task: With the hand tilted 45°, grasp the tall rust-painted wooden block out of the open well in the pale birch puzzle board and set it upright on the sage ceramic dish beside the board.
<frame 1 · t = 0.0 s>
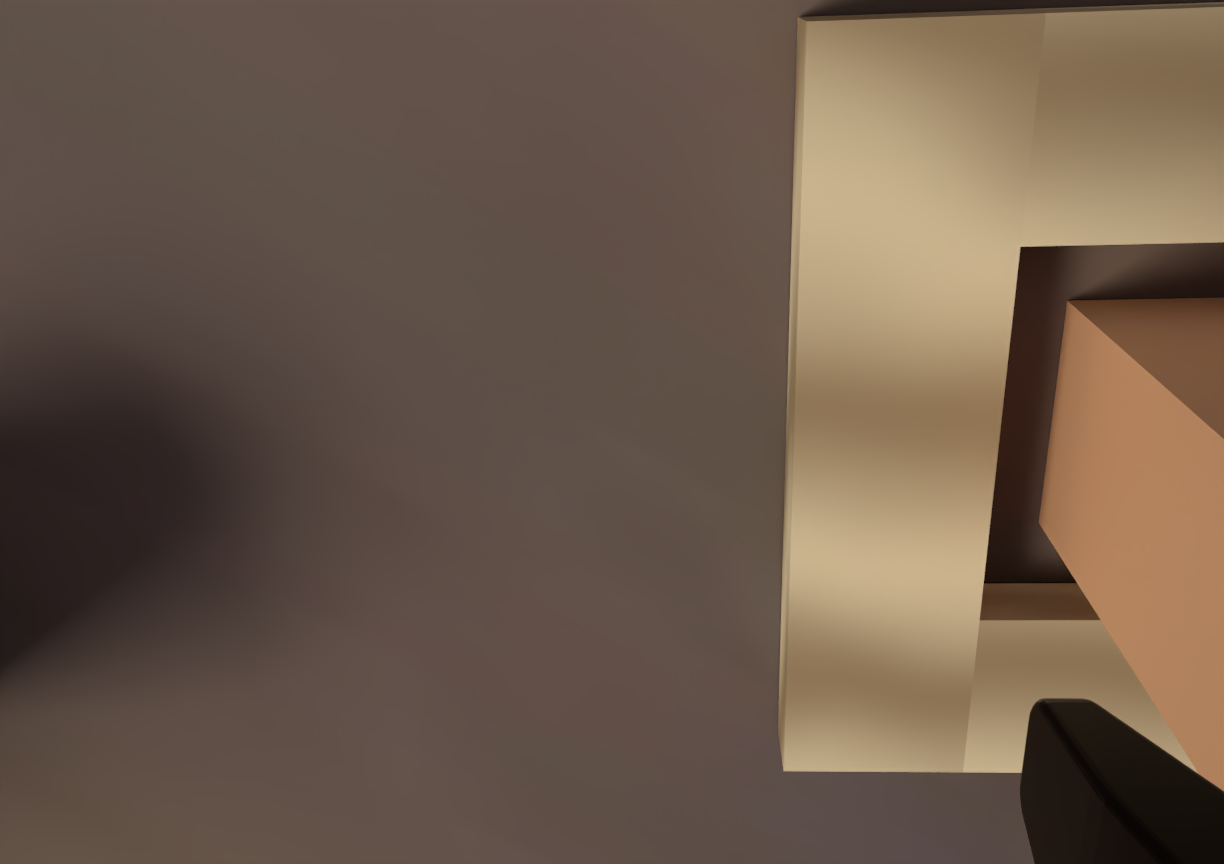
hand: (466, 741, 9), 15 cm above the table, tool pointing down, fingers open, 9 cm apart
puzzle board: (1176, 415, 23), on the table
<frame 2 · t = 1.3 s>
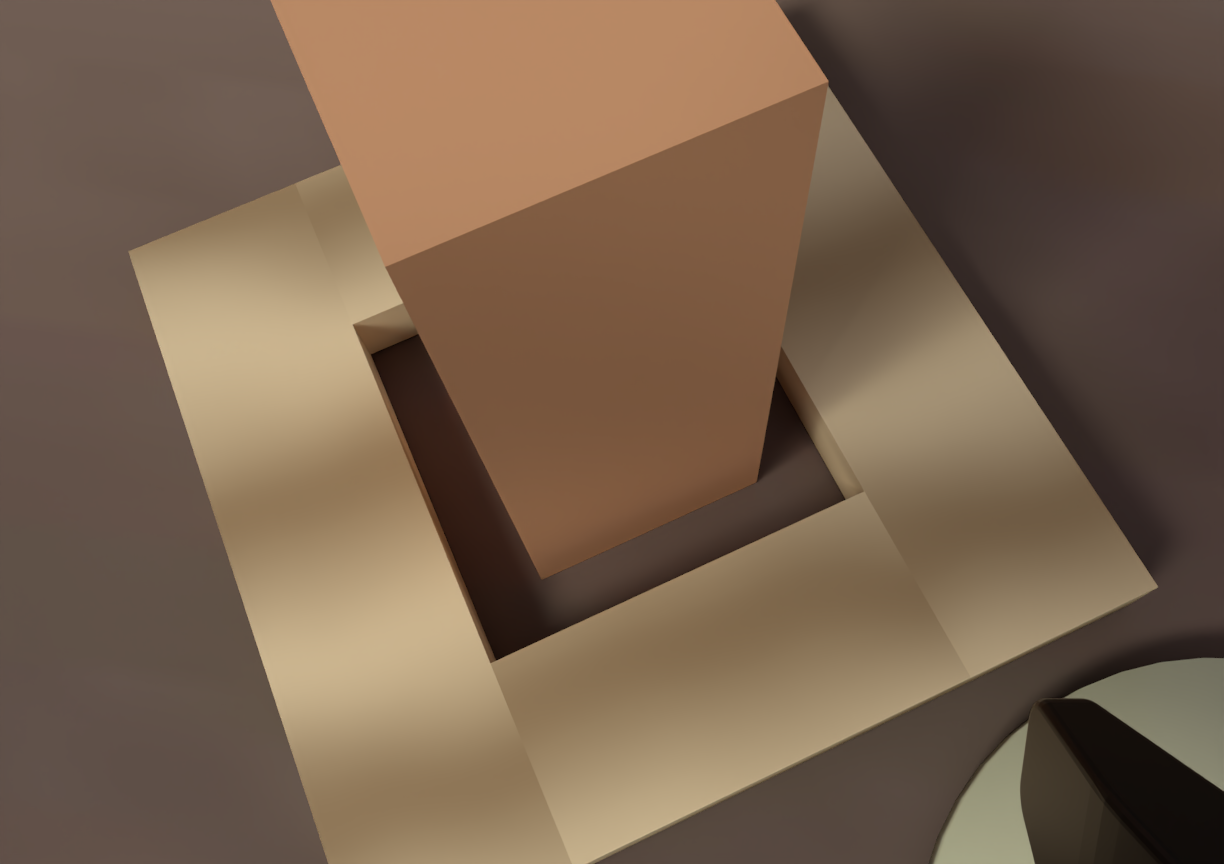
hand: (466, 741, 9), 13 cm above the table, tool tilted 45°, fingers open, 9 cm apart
puzzle board: (601, 430, 24), on the table
block: (574, 286, 18), in the puzzle board
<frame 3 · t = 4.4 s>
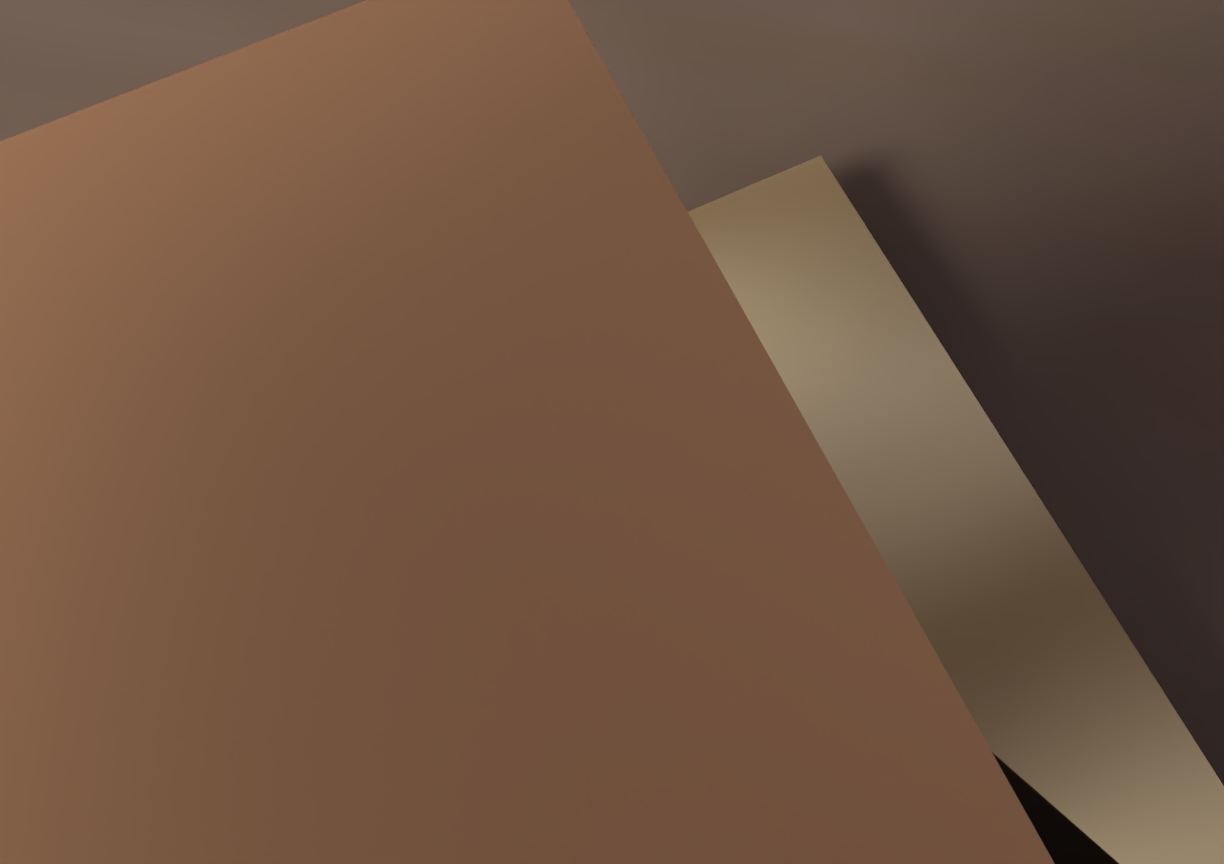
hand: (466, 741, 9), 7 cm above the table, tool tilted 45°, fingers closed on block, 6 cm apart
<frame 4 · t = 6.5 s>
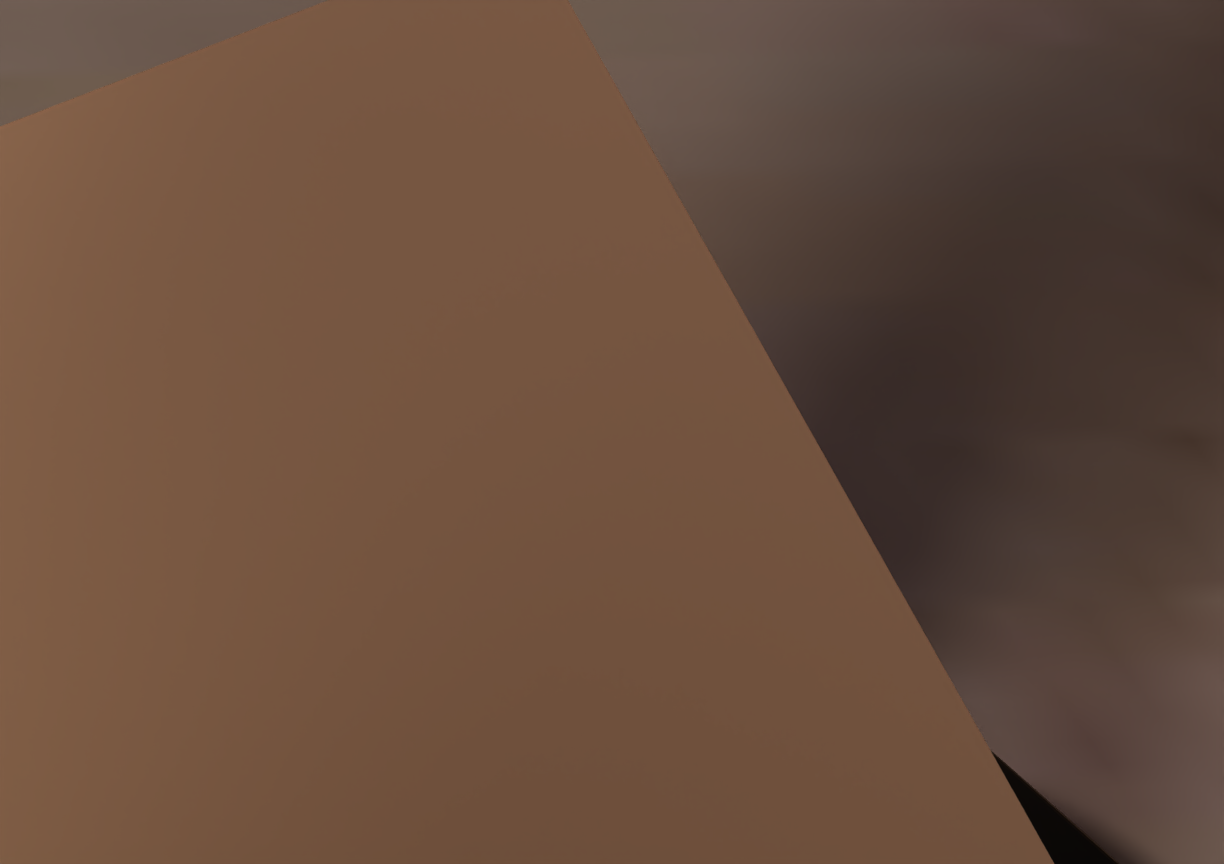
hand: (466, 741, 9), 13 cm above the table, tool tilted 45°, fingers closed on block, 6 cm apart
when the fingers open (8 cm above the table, at t = 8.6 s): block stays where it is, resting on dish.
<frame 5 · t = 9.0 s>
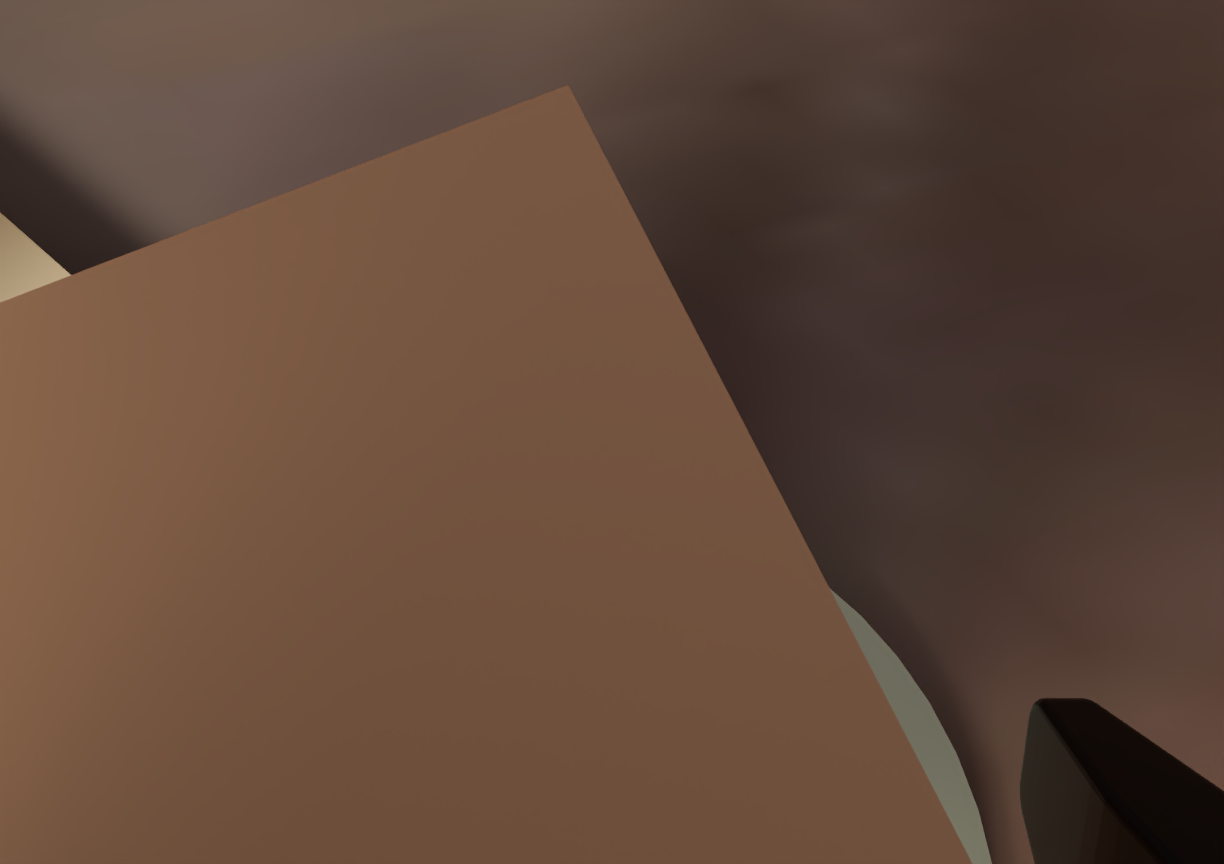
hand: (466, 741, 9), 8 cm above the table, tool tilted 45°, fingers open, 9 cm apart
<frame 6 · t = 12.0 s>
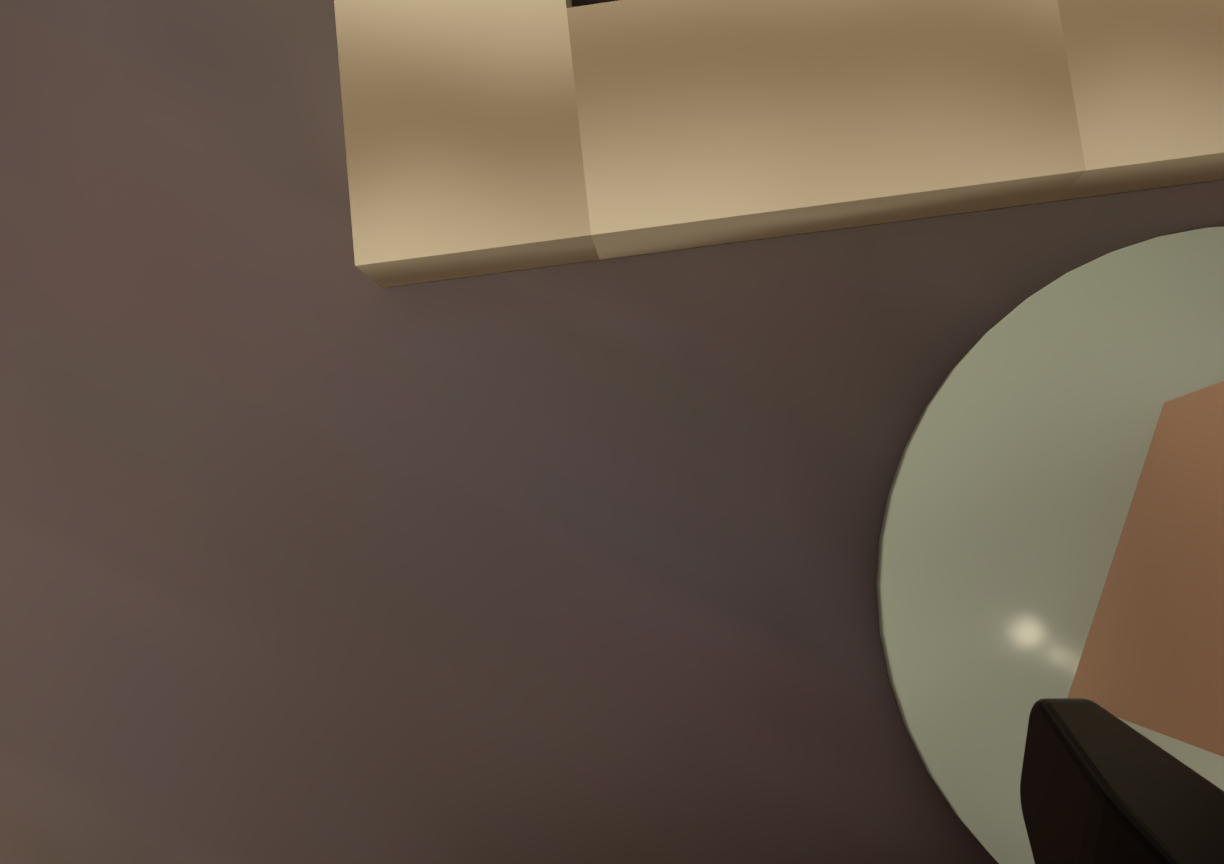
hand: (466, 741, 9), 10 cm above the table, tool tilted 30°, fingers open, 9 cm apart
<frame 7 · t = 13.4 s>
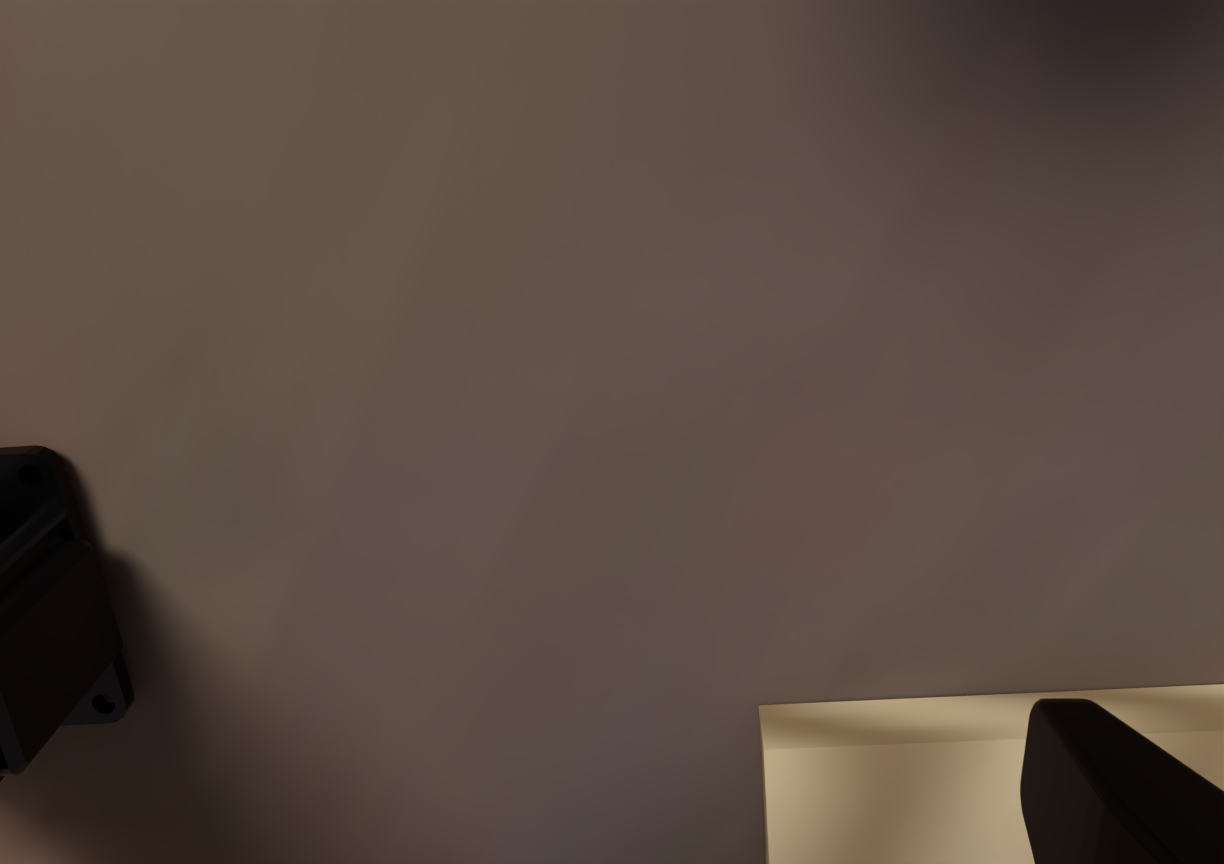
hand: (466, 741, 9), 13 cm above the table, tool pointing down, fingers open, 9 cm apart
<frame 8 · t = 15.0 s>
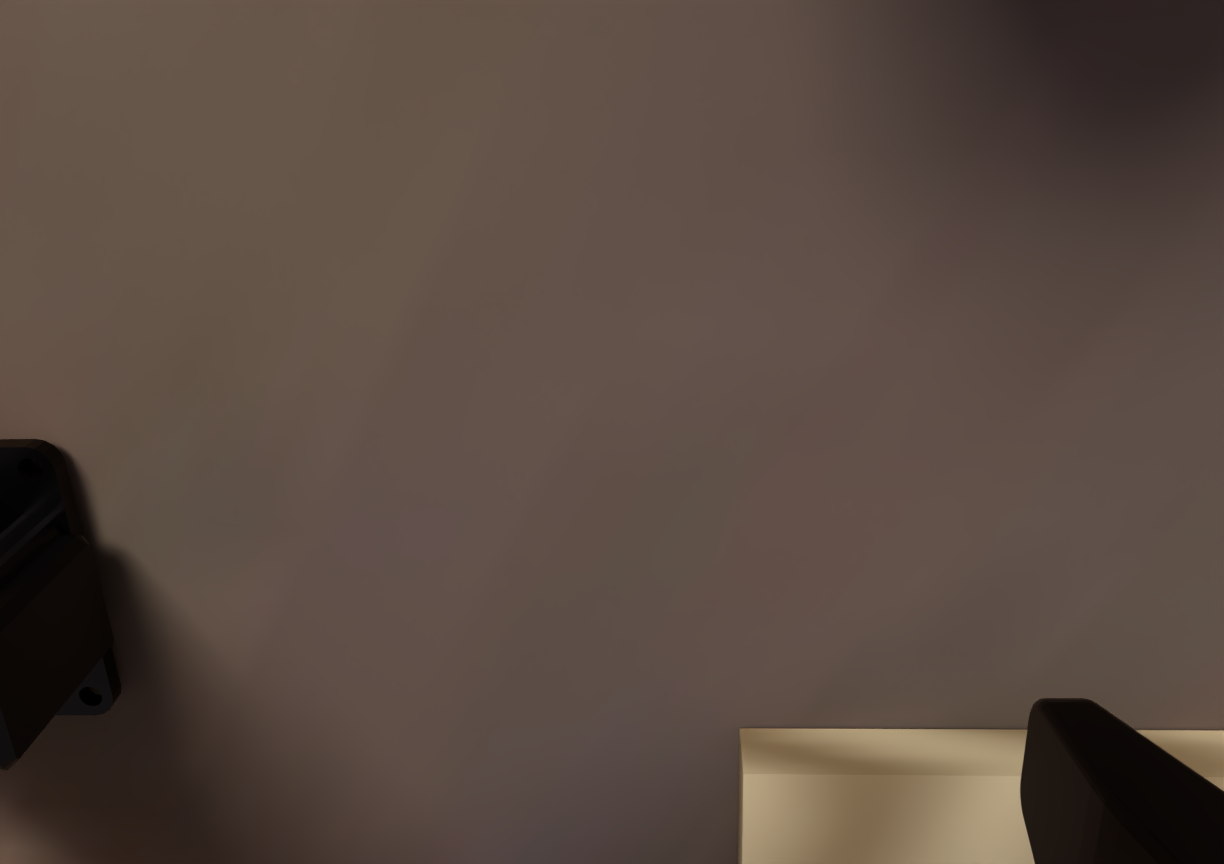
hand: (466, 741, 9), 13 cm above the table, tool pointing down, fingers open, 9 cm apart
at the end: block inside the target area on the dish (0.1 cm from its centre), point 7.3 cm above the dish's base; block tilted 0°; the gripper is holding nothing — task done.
